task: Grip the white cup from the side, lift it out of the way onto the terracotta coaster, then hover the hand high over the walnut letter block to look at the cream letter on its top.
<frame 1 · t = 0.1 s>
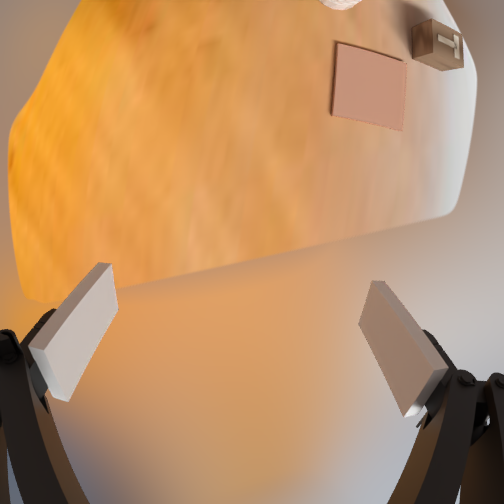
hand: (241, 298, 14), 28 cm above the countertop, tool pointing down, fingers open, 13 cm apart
letter block: (427, 49, 31), on the countertop
coaster: (370, 87, 34), on the countertop
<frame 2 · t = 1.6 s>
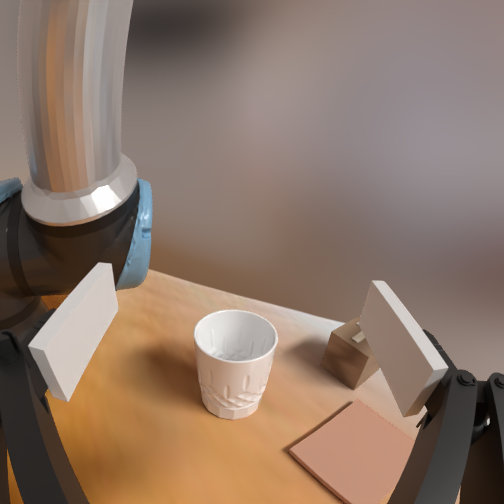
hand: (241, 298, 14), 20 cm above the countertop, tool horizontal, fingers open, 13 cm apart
white cup: (231, 398, 31), on the countertop
letter block: (350, 368, 36), on the countertop
coaster: (360, 455, 23), on the countertop
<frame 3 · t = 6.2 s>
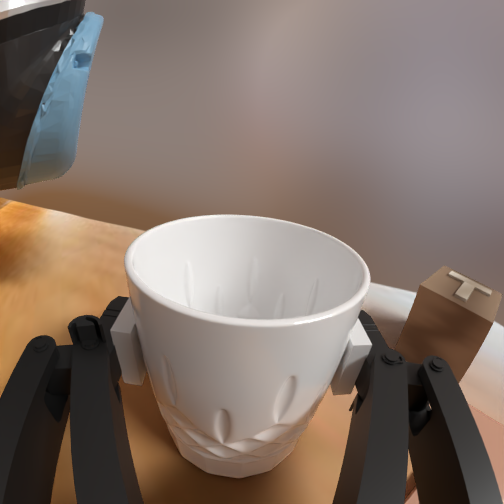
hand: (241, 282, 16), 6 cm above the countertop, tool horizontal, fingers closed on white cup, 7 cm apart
white cup: (233, 427, 14), on the countertop, touching gripper
letter block: (436, 354, 19), on the countertop
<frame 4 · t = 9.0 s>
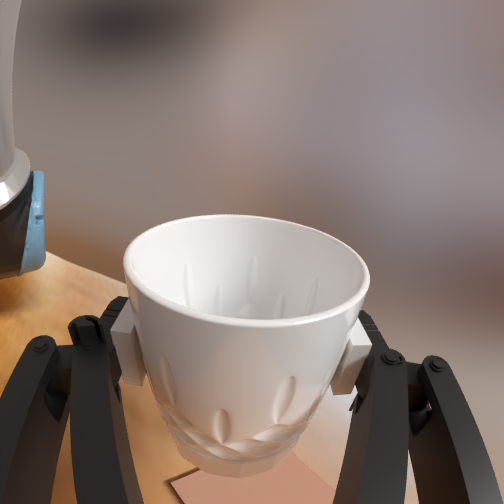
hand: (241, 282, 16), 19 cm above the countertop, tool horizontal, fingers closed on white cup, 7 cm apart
white cup: (233, 427, 14), point 12 cm above the countertop, touching gripper
coaster: (261, 503, 18), on the countertop
when the fingers open (8 cm above the countertop, at t = 12.1 s): white cup drops 1 cm, resting on coaster.
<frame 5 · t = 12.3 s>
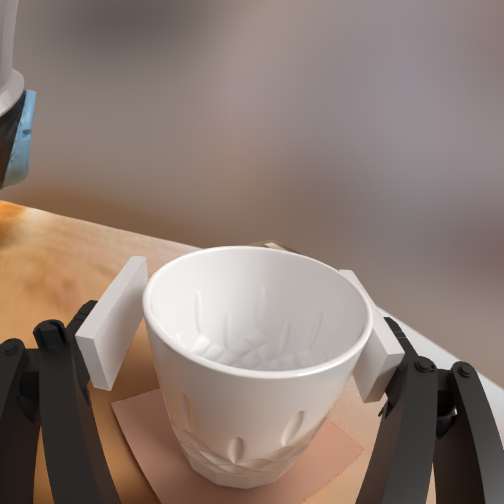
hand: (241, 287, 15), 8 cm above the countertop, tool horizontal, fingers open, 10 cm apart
white cup: (240, 440, 14), point 1 cm above the countertop, touching coaster
coaster: (232, 444, 14), on the countertop
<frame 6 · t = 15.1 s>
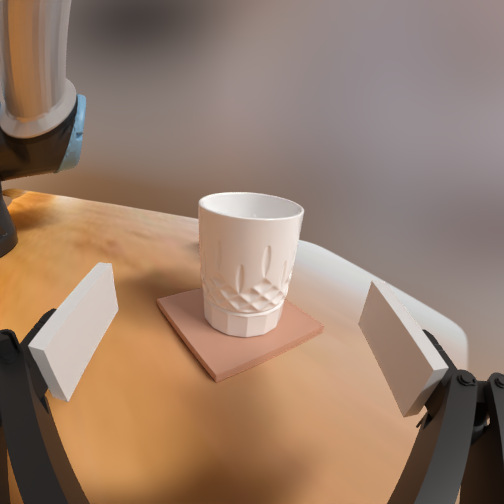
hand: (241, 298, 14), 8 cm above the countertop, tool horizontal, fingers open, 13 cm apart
white cup: (242, 316, 26), point 1 cm above the countertop, touching coaster
coaster: (237, 320, 26), on the countertop
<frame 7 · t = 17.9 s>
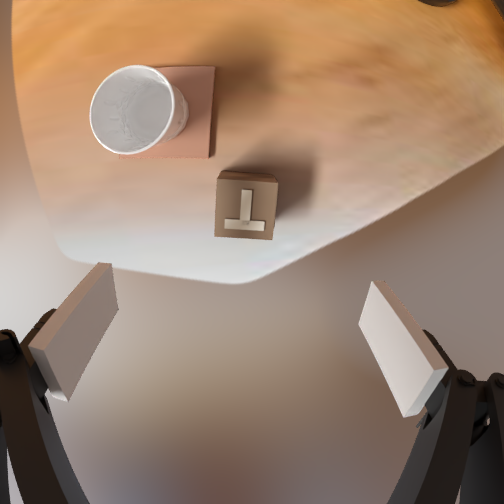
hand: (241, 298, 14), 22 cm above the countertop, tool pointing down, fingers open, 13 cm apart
white cup: (161, 114, 30), point 1 cm above the countertop, touching coaster
letter block: (244, 197, 35), on the countertop
coaster: (165, 111, 30), on the countertop
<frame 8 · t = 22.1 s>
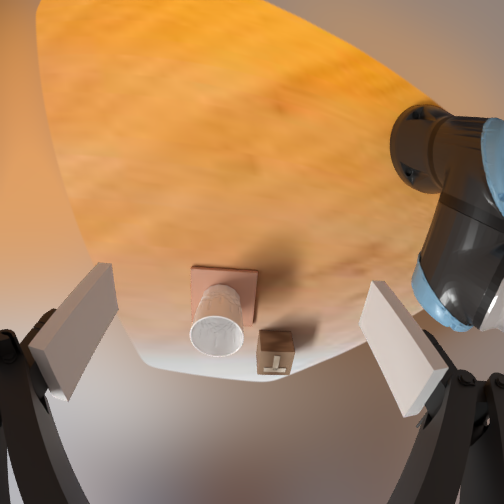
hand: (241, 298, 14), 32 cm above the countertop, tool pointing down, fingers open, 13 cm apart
white cup: (221, 300, 51), point 1 cm above the countertop, touching coaster
letter block: (273, 342, 56), on the countertop
coaster: (223, 296, 51), on the countertop
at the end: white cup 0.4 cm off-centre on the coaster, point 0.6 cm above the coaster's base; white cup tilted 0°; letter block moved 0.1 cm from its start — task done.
